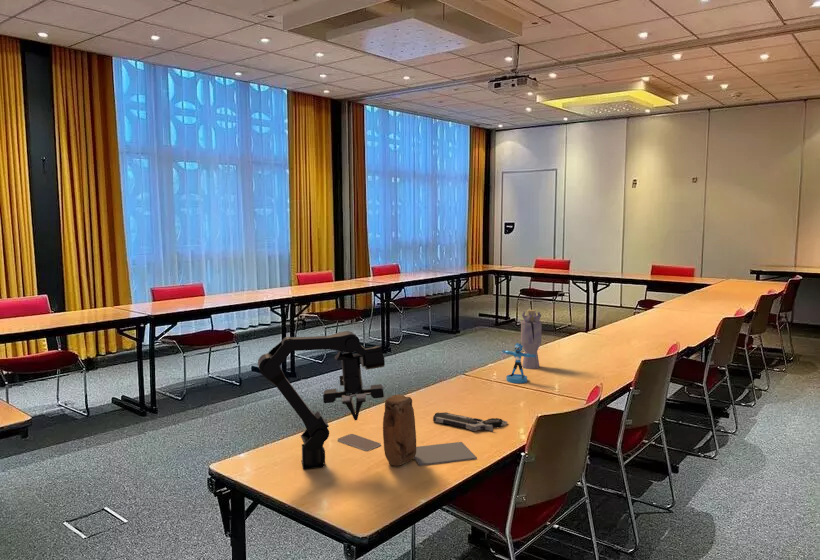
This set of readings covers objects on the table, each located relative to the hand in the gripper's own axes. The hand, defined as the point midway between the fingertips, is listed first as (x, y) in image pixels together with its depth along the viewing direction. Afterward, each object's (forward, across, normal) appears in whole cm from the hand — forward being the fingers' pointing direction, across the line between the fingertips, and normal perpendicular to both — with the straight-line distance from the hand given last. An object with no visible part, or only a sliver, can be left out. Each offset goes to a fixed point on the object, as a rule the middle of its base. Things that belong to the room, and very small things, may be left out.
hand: (356, 419), depth 186 cm
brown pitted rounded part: (+14, -13, +3) cm, 19 cm away
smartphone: (+14, 0, -14) cm, 19 cm away
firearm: (+17, -40, -29) cm, 53 cm away
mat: (+15, -26, -1) cm, 30 cm away
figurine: (+19, -73, -85) cm, 114 cm away
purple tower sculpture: (+20, -87, -111) cm, 143 cm away
